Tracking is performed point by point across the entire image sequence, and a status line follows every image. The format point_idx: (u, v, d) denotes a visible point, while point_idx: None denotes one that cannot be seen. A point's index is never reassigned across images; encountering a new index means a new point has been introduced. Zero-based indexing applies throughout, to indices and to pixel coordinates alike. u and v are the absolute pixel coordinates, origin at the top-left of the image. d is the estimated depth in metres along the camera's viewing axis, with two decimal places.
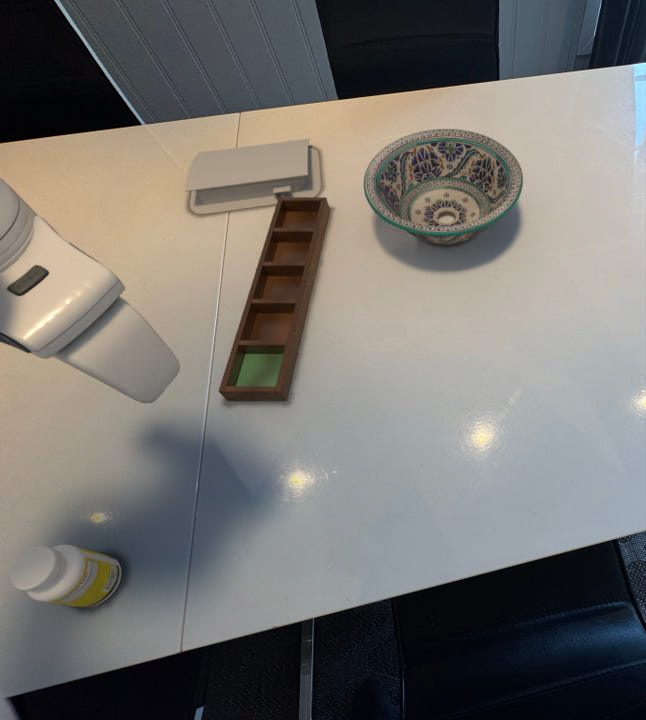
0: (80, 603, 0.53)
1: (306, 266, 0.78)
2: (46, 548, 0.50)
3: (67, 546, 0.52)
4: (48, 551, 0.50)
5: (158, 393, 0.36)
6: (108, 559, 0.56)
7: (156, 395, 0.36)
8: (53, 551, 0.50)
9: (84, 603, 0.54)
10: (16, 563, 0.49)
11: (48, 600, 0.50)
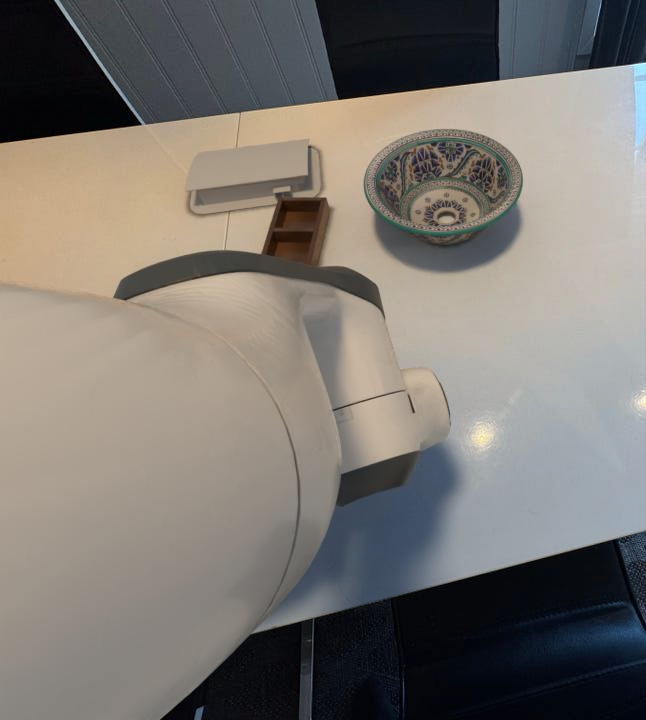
0: None
1: None
2: None
3: None
4: None
5: None
6: None
7: None
8: None
9: None
10: None
11: None
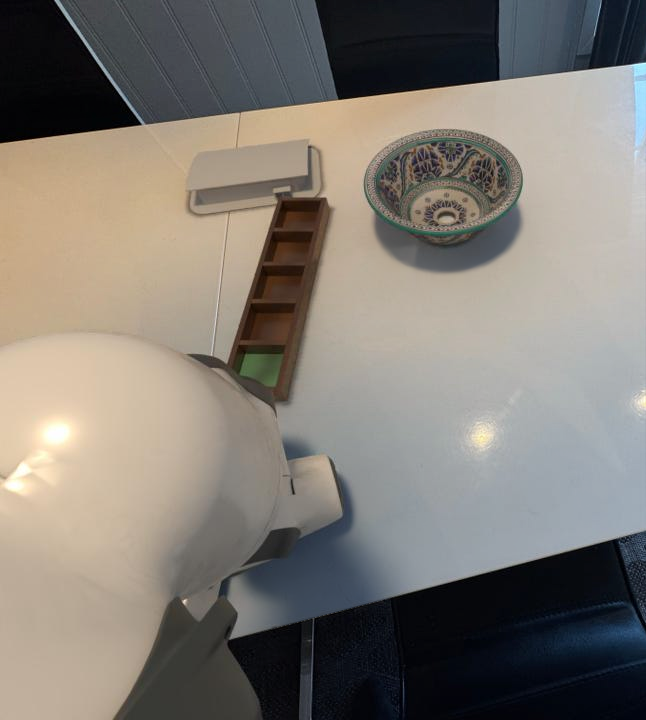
0: None
1: (306, 266, 0.78)
2: None
3: None
4: None
5: None
6: None
7: None
8: None
9: None
10: None
11: None
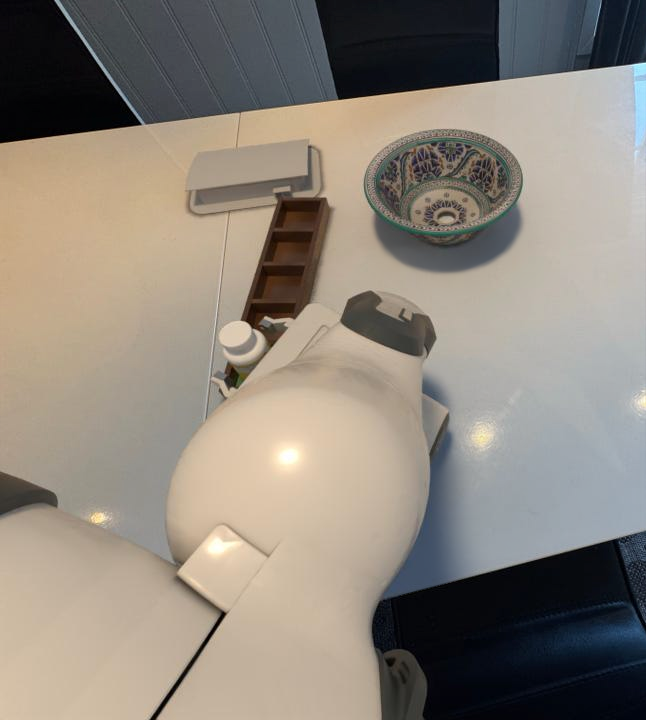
0: (244, 378, 0.67)
1: (306, 266, 0.78)
2: (249, 327, 0.63)
3: (262, 336, 0.65)
4: (249, 330, 0.63)
5: None
6: None
7: None
8: (251, 333, 0.63)
9: None
10: (230, 323, 0.63)
11: (228, 361, 0.64)
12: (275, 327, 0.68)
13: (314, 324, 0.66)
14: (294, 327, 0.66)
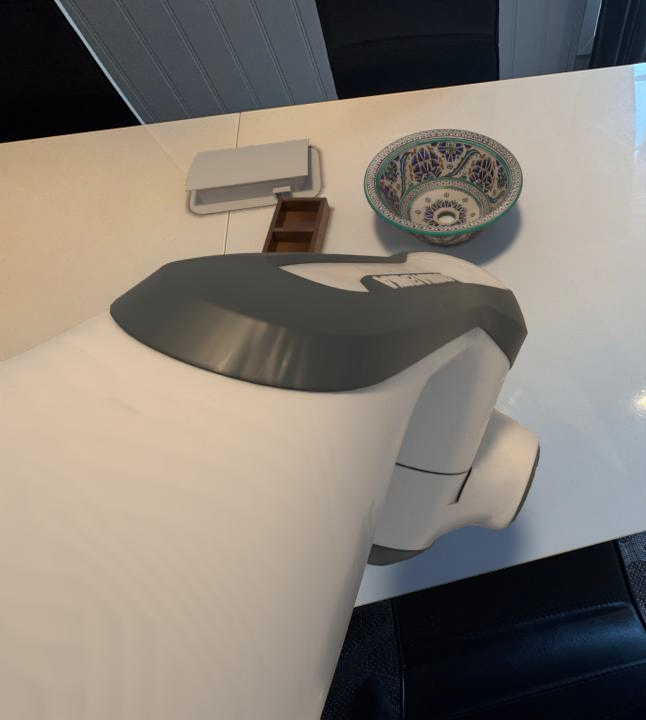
0: None
1: None
2: None
3: None
4: None
5: None
6: None
7: None
8: None
9: None
10: None
11: None
12: None
13: None
14: None
